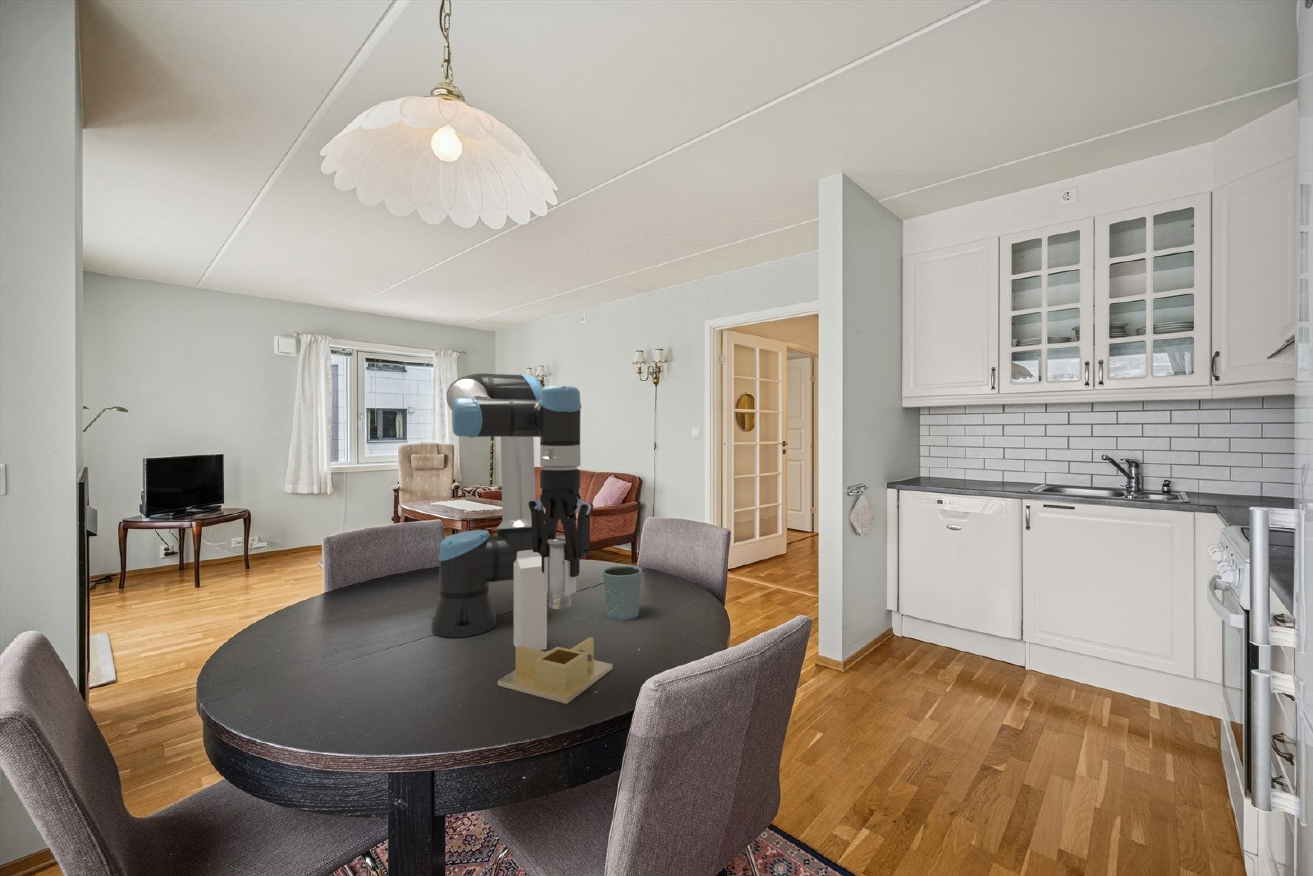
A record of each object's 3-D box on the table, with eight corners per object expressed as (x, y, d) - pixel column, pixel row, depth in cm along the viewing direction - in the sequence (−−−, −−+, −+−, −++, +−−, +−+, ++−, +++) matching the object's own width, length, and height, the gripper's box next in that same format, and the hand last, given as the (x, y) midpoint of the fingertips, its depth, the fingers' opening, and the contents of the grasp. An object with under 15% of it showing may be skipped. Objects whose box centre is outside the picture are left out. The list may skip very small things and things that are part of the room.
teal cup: (648, 613, 145) (648, 569, 145) (626, 624, 136) (626, 577, 136) (618, 606, 150) (618, 564, 150) (595, 617, 142) (595, 571, 142)
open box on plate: (566, 704, 96) (566, 670, 96) (497, 685, 103) (497, 654, 103) (612, 669, 110) (612, 639, 110) (549, 654, 117) (549, 627, 117)
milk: (546, 649, 120) (547, 551, 120) (520, 655, 117) (520, 554, 117) (538, 640, 126) (539, 546, 125) (512, 645, 123) (513, 548, 122)
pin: (541, 607, 100) (541, 539, 100) (557, 600, 105) (557, 535, 105) (562, 611, 98) (562, 541, 98) (577, 604, 103) (577, 537, 103)
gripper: (511, 468, 102) (511, 591, 102) (587, 470, 94) (587, 603, 95) (537, 466, 109) (537, 581, 109) (609, 468, 101) (609, 592, 101)
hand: (560, 591), depth 102 cm, fingers closed on pin, 4 cm apart
